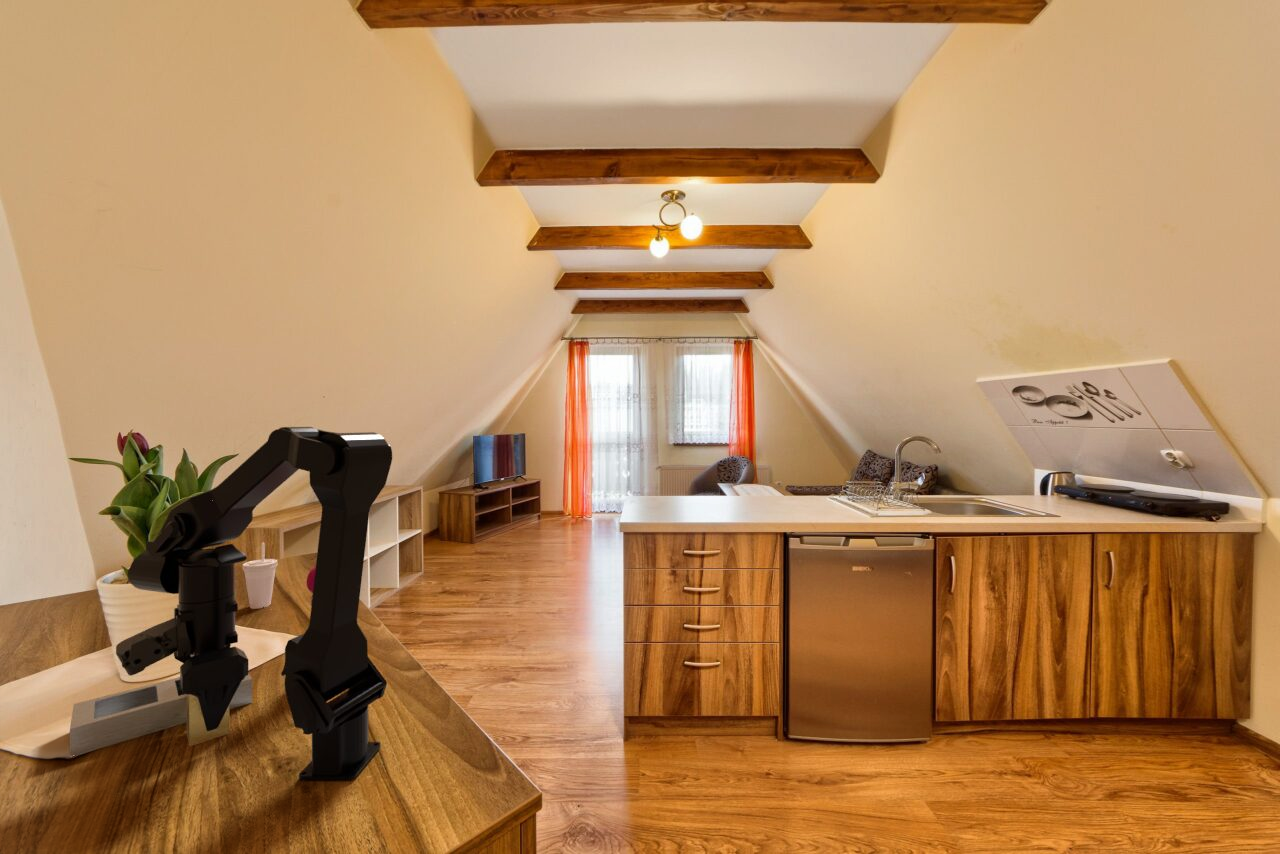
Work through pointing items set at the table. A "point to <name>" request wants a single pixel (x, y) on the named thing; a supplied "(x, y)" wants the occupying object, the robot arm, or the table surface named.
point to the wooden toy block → (201, 723)
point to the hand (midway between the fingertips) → (208, 715)
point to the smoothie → (260, 580)
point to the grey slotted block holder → (135, 714)
